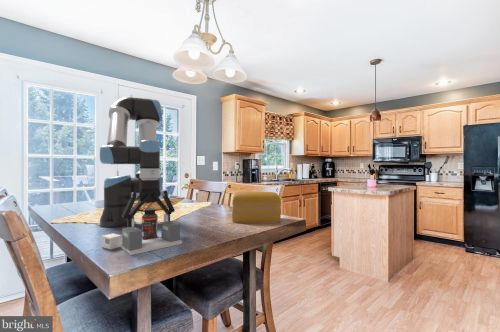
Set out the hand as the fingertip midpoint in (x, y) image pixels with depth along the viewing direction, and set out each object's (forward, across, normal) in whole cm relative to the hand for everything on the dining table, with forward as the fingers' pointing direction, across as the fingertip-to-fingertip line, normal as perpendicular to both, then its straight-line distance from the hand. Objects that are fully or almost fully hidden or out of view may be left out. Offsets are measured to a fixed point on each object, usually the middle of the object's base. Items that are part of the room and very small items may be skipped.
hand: (149, 232), depth 104 cm
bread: (+2, +54, -5) cm, 54 cm away
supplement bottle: (+2, 0, 0) cm, 2 cm away
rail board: (+2, -4, -11) cm, 12 cm away
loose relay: (+2, -14, -2) cm, 15 cm away
